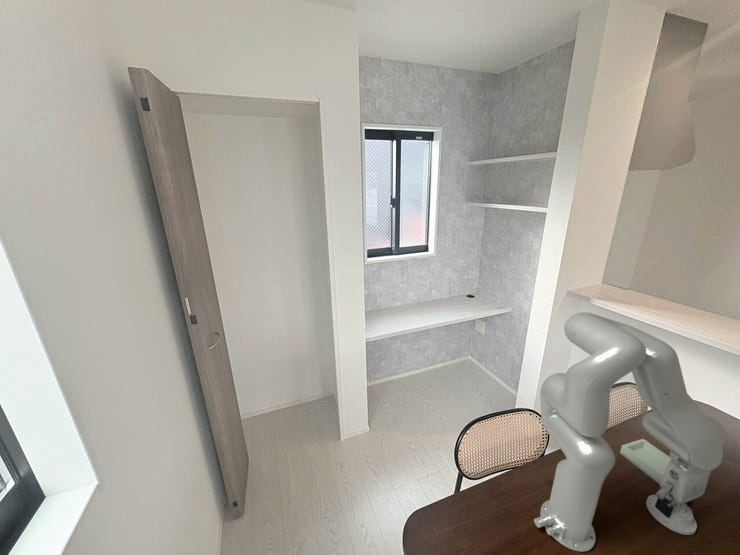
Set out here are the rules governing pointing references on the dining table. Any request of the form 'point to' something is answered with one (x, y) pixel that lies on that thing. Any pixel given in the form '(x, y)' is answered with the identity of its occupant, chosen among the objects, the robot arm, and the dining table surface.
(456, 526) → the dining table surface
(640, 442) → the tray
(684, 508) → the mechanical component
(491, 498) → the dining table surface
